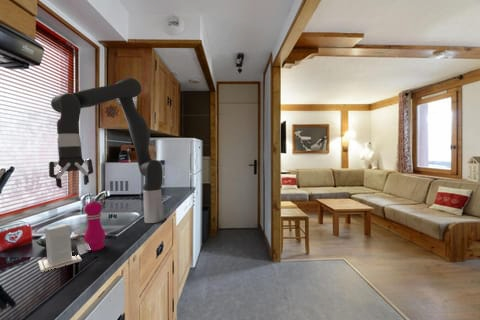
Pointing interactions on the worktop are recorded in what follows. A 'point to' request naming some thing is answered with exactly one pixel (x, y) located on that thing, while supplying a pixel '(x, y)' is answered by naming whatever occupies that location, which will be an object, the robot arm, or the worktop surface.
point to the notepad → (47, 266)
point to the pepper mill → (94, 226)
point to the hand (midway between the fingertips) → (73, 186)
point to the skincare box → (58, 243)
